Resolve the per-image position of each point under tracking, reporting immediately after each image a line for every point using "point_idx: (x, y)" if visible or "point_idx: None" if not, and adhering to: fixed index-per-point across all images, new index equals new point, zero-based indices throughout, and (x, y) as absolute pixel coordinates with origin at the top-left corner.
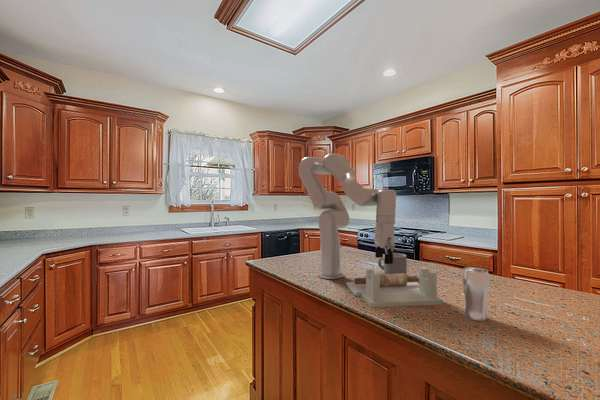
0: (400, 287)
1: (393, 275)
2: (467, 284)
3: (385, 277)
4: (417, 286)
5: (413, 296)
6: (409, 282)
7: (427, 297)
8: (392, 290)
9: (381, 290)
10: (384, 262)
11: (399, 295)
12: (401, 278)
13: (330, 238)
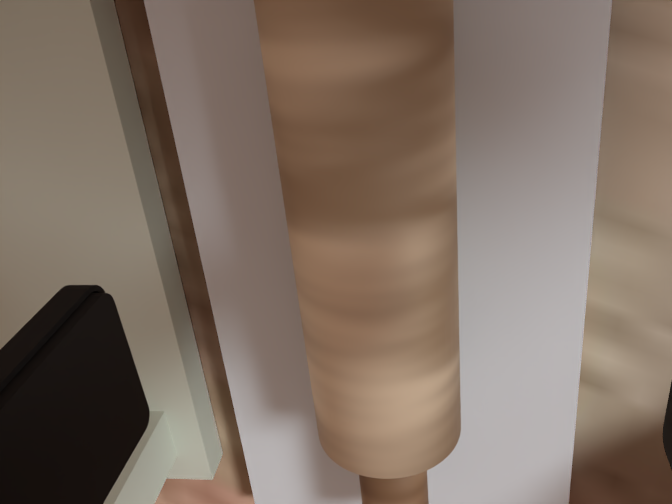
0: None
1: (333, 330)
2: None
3: (295, 200)
4: None
5: (28, 314)
6: (479, 456)
7: None
8: (205, 192)
9: (194, 59)
10: (75, 290)
11: (26, 200)
12: (312, 389)
13: None
